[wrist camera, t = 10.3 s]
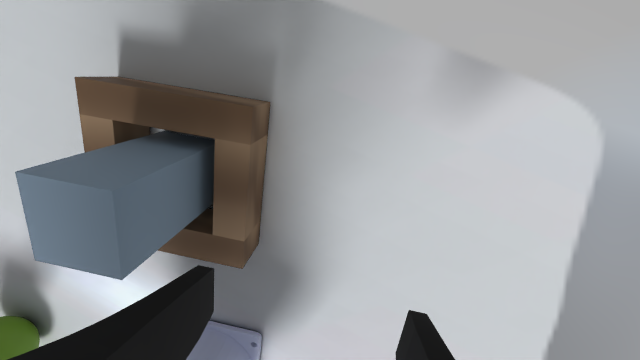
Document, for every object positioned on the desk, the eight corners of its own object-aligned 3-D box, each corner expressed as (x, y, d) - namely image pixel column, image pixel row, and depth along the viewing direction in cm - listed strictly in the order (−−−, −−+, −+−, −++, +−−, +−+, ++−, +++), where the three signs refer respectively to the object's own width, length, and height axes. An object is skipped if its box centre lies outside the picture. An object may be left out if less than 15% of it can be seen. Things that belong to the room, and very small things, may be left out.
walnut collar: (258, 243, 22) (242, 268, 19) (129, 216, 22) (96, 236, 20) (270, 102, 18) (252, 107, 15) (117, 76, 19) (74, 76, 16)
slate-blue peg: (220, 197, 21) (121, 279, 12) (166, 186, 21) (35, 260, 13) (222, 141, 19) (112, 191, 11) (164, 130, 20) (15, 171, 11)
